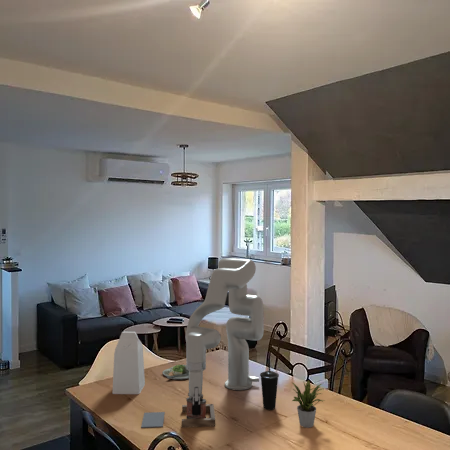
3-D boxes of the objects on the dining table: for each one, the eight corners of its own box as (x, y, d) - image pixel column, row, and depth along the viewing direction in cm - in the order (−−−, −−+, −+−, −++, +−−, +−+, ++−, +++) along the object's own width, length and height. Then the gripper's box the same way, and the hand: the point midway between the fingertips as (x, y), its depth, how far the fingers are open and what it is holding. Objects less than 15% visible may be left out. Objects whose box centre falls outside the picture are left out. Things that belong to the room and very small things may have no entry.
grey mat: (164, 413, 179) (164, 412, 179) (162, 427, 167) (162, 426, 167) (144, 413, 178) (144, 412, 178) (141, 427, 166) (141, 426, 166)
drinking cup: (278, 412, 179) (278, 362, 179) (258, 410, 181) (258, 361, 180) (279, 404, 187) (279, 356, 186) (261, 403, 188) (261, 355, 188)
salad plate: (179, 385, 209) (179, 375, 209) (153, 377, 220) (153, 367, 220) (206, 374, 224) (206, 364, 224) (181, 366, 235) (181, 357, 235)
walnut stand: (213, 410, 181) (213, 404, 181) (215, 426, 167) (215, 419, 167) (182, 411, 180) (182, 405, 180) (181, 427, 166) (181, 420, 166)
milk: (144, 384, 209) (144, 328, 209) (139, 394, 198) (139, 335, 197) (119, 384, 210) (118, 328, 209) (112, 393, 198) (112, 335, 198)
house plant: (334, 433, 162) (334, 388, 161) (297, 436, 160) (297, 390, 159) (319, 416, 176) (319, 374, 176) (285, 418, 174) (285, 376, 173)
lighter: (207, 418, 174) (207, 392, 174) (204, 422, 171) (204, 396, 171) (188, 415, 177) (188, 390, 177) (184, 419, 174) (184, 393, 173)
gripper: (186, 358, 182) (186, 403, 182) (186, 372, 165) (186, 422, 165) (205, 357, 182) (205, 402, 182) (206, 372, 165) (206, 421, 166)
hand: (196, 411), depth 174 cm, fingers closed on lighter, 4 cm apart
